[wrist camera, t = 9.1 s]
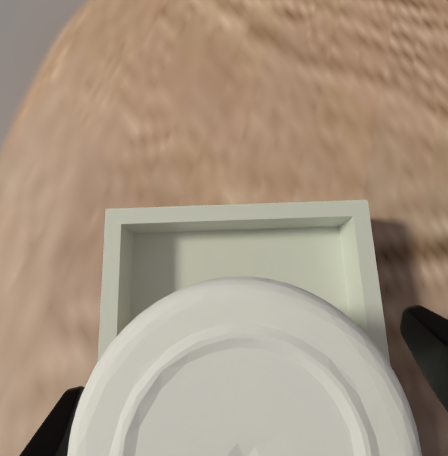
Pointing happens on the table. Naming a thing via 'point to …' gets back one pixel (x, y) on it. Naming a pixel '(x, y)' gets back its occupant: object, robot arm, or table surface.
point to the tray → (241, 256)
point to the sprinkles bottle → (243, 380)
